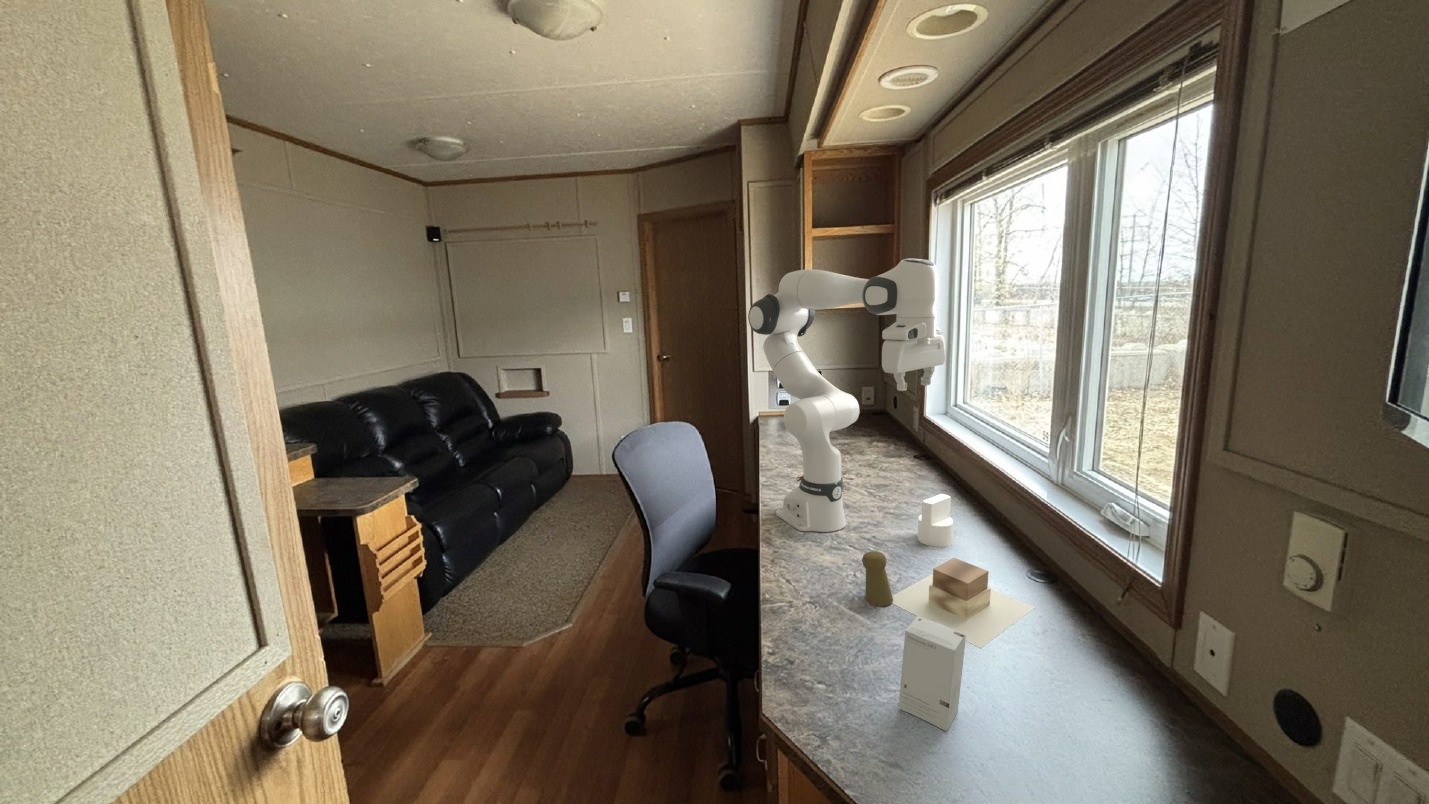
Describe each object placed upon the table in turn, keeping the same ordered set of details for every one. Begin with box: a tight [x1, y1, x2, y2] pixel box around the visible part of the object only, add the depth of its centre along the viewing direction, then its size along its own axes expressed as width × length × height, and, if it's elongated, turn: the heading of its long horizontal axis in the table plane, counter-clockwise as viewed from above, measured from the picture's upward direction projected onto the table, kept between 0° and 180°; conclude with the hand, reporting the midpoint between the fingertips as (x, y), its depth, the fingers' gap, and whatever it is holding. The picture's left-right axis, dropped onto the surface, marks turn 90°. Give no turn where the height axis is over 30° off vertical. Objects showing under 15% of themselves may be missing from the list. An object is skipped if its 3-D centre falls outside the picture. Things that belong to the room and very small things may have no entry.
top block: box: [932, 557, 990, 601], centre depth 120 cm, size 8×8×4 cm
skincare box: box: [898, 615, 967, 732], centre depth 91 cm, size 8×6×15 cm
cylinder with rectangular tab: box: [917, 493, 954, 548], centre depth 152 cm, size 9×9×12 cm
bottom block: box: [928, 584, 992, 620], centre depth 121 cm, size 9×9×4 cm
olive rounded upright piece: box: [861, 550, 893, 608], centre depth 124 cm, size 6×6×11 cm
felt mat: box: [891, 573, 1036, 649], centre depth 122 cm, size 22×22×1 cm
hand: (914, 387), depth 132 cm, fingers open, 8 cm apart
